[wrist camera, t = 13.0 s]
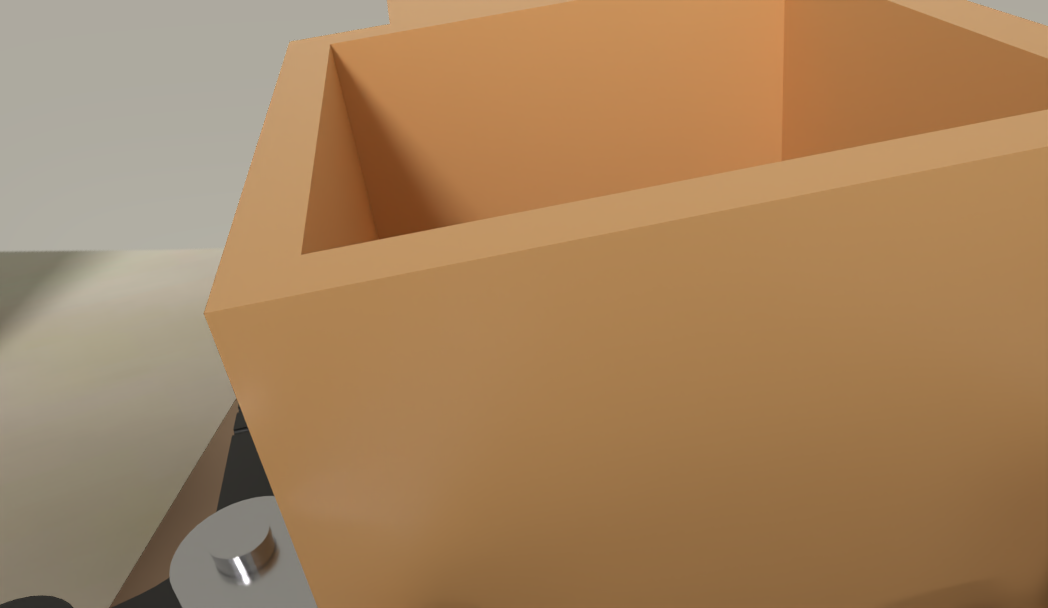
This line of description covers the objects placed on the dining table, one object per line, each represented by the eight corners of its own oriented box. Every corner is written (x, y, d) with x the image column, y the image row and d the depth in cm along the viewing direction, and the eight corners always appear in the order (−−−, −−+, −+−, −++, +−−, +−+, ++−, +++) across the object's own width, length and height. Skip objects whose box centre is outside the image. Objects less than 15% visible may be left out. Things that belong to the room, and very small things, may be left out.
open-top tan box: (1017, 913, 10) (1279, 101, 5) (489, 1052, 10) (202, 313, 5) (713, 400, 19) (698, -85, 14) (429, 461, 19) (307, -17, 14)
